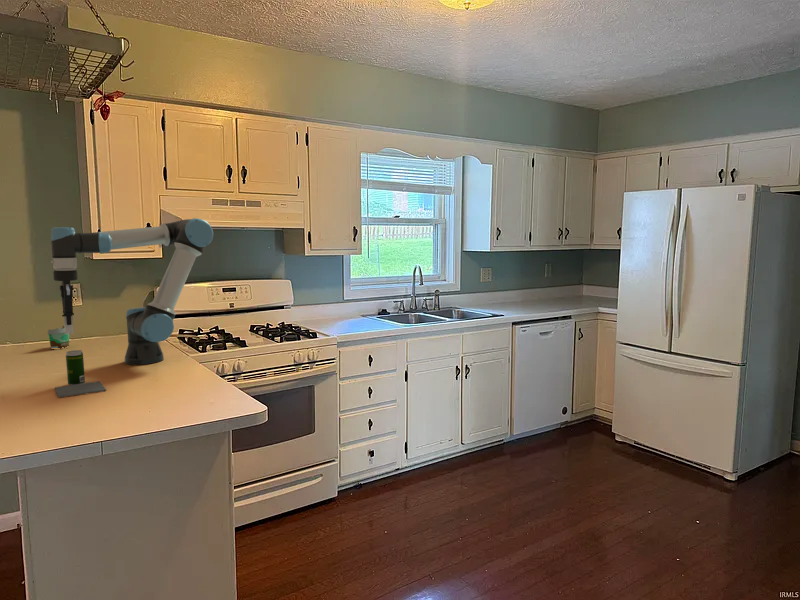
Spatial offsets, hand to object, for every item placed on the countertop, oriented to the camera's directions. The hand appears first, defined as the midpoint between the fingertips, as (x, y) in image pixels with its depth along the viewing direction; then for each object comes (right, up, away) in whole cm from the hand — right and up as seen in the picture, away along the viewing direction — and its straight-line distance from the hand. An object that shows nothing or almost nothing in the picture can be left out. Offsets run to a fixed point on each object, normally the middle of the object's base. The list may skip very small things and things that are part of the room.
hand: (69, 333), depth 206 cm
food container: (-41, -11, +64) cm, 76 cm away
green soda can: (+6, -18, -5) cm, 20 cm away
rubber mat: (+12, -19, -13) cm, 26 cm away
